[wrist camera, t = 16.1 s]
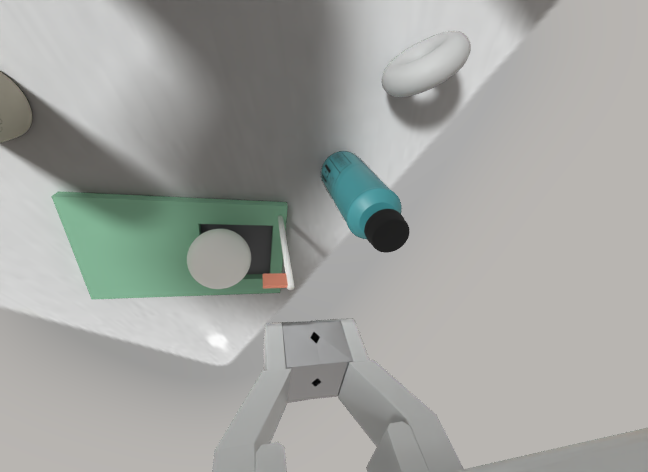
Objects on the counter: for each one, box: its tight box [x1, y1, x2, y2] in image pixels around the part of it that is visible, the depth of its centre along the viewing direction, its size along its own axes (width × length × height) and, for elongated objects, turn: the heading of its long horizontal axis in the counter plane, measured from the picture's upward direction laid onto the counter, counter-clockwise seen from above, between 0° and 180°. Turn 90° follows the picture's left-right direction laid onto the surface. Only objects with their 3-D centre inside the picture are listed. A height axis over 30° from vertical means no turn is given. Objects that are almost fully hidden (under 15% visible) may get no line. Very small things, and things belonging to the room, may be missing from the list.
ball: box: [187, 229, 251, 289], centre depth 42 cm, size 9×9×9 cm
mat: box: [52, 192, 295, 299], centre depth 38 cm, size 30×18×18 cm, turn 82°
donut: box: [382, 31, 470, 97], centre depth 33 cm, size 10×4×10 cm, turn 120°
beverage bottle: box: [321, 151, 409, 252], centre depth 35 cm, size 6×7×20 cm
